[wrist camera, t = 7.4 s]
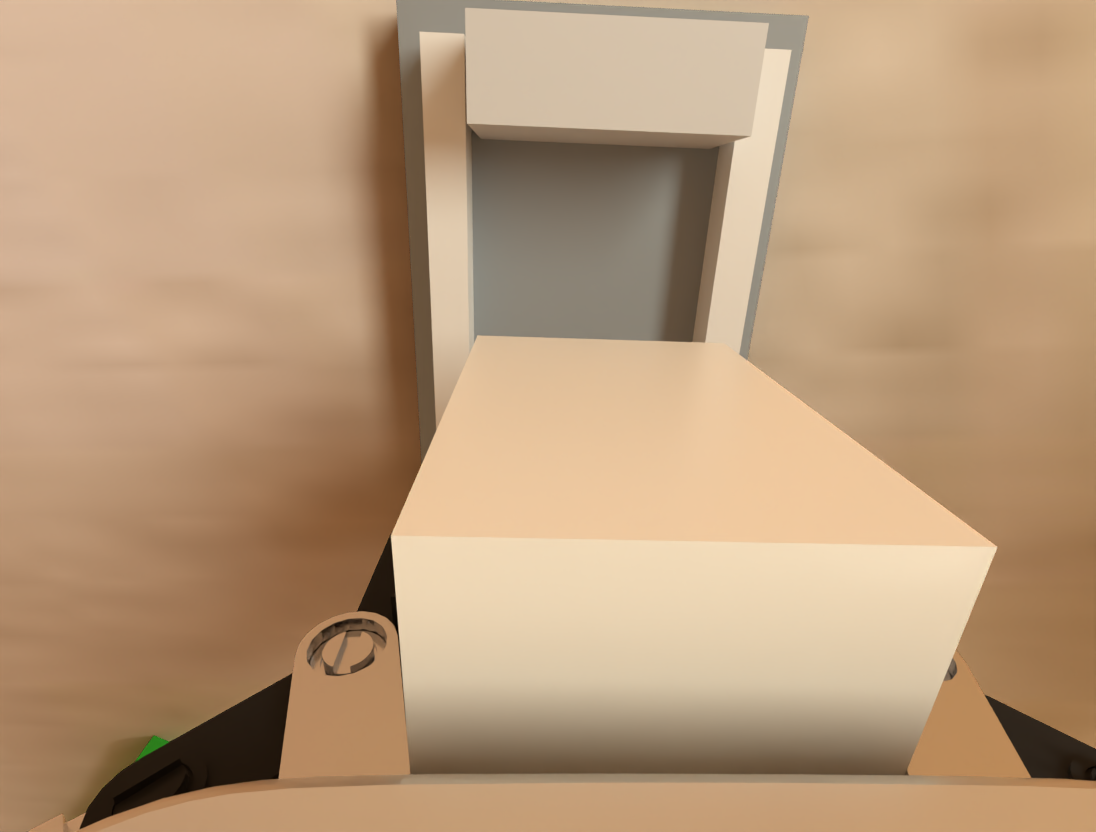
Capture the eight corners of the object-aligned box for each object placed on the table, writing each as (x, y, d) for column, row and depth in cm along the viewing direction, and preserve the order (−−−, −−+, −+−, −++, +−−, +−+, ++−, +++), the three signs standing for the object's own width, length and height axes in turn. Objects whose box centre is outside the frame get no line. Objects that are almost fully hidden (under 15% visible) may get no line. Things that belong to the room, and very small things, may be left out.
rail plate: (787, 30, 14) (881, -34, 10) (681, 663, 22) (711, 760, 18) (407, 11, 14) (356, -63, 10) (438, 659, 22) (417, 757, 18)
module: (726, 343, 11) (1003, 546, 4) (677, 647, 14) (802, 1036, 7) (475, 335, 11) (384, 534, 4) (478, 644, 14) (427, 1041, 7)
